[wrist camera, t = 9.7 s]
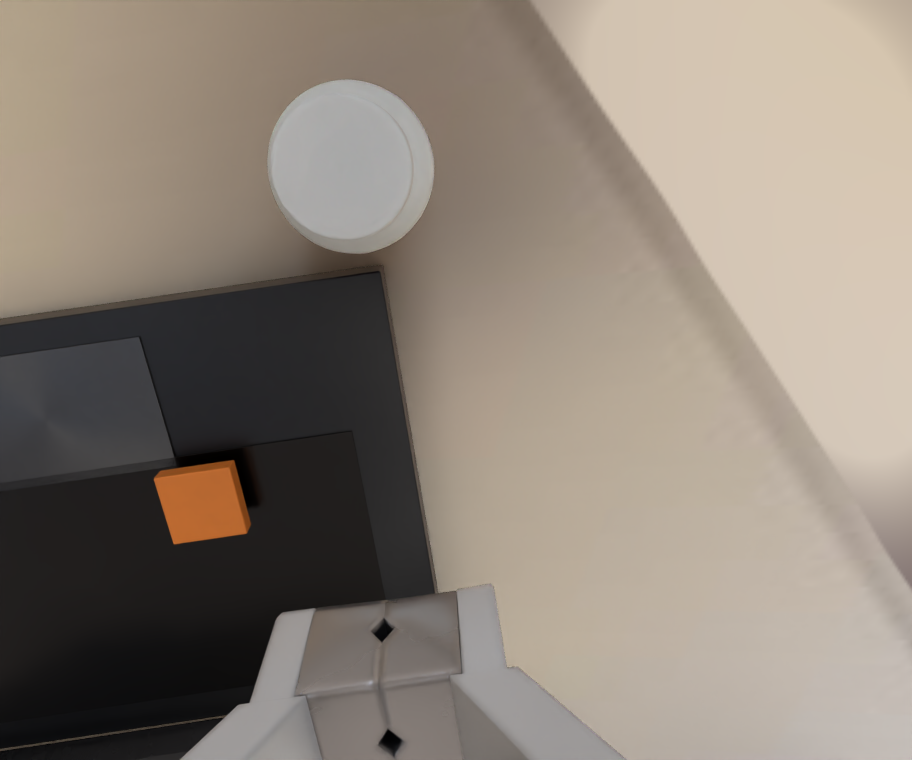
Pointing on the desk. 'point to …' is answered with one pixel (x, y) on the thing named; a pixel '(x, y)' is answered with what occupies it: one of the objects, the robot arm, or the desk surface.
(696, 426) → the desk surface
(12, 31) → the desk surface
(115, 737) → the laptop screen
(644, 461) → the desk surface
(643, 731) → the desk surface
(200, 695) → the laptop
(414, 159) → the pill bottle
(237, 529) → the orange block
